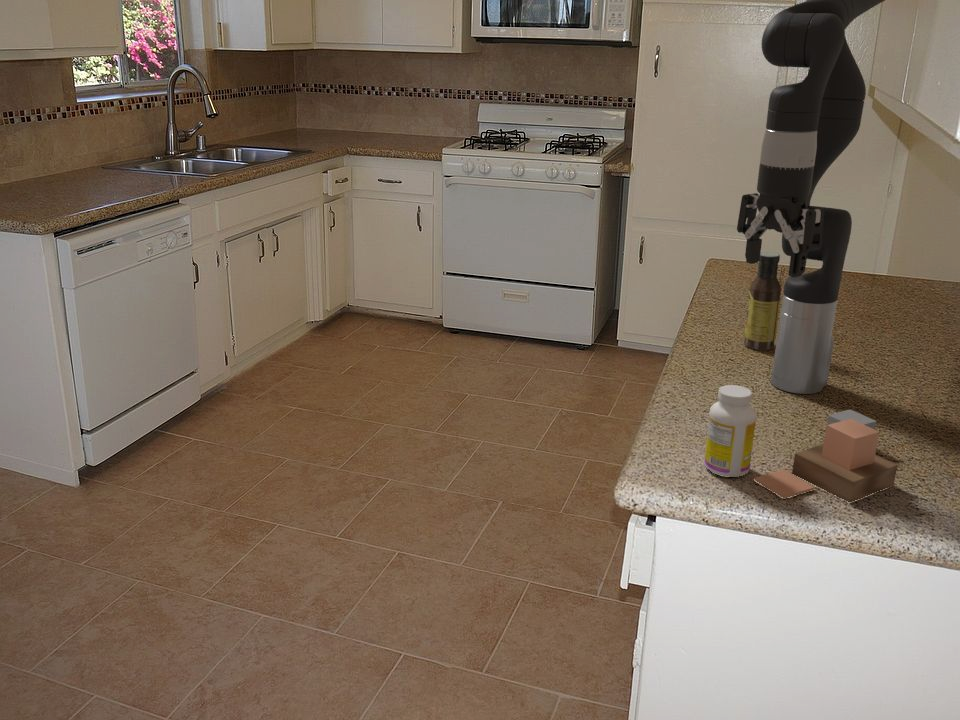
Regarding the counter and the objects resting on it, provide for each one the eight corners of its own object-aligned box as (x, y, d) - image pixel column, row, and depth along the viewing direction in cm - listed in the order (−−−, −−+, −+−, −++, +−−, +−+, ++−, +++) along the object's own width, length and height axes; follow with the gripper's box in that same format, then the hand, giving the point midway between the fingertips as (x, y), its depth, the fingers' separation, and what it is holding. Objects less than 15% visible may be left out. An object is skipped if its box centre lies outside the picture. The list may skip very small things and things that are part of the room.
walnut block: (834, 461, 135) (838, 438, 134) (892, 489, 127) (897, 464, 126) (791, 477, 130) (794, 453, 129) (848, 507, 122) (853, 482, 121)
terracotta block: (845, 449, 130) (851, 418, 129) (873, 463, 126) (879, 431, 124) (821, 455, 128) (826, 425, 126) (849, 470, 124) (855, 438, 122)
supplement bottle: (741, 458, 135) (751, 382, 130) (755, 479, 129) (766, 399, 124) (698, 459, 135) (706, 382, 130) (710, 480, 128) (719, 400, 124)
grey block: (845, 437, 142) (850, 409, 141) (870, 449, 138) (876, 421, 137) (823, 443, 140) (828, 415, 138) (848, 456, 136) (854, 427, 134)
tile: (783, 472, 131) (783, 469, 130) (814, 490, 126) (815, 486, 125) (753, 481, 128) (753, 477, 128) (784, 500, 123) (784, 496, 123)
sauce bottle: (754, 339, 186) (766, 248, 179) (780, 347, 182) (793, 254, 175) (736, 345, 183) (748, 252, 175) (762, 353, 178) (775, 258, 171)
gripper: (845, 166, 122) (828, 277, 128) (768, 152, 134) (756, 255, 140) (807, 171, 119) (791, 285, 125) (732, 156, 130) (721, 261, 136)
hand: (773, 269), depth 132 cm, fingers open, 8 cm apart
